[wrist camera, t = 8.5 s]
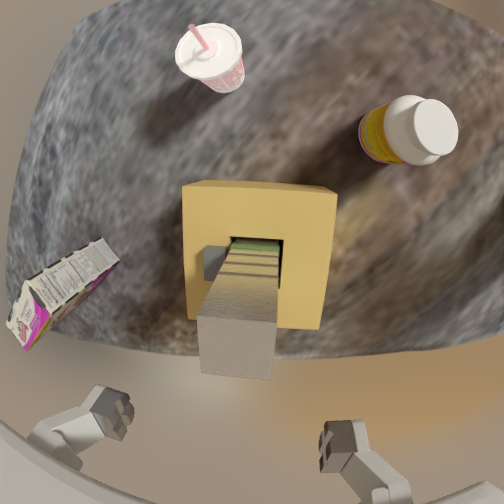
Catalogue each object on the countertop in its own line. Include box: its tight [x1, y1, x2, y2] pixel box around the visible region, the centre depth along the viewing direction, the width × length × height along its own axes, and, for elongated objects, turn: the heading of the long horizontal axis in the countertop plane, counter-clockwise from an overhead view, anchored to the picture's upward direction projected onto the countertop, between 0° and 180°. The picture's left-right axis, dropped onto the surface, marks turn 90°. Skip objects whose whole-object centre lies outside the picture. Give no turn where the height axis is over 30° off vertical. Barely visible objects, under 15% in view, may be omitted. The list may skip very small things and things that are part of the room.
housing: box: [182, 180, 338, 330], centre depth 29 cm, size 14×14×10 cm
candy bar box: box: [6, 237, 120, 351], centre depth 30 cm, size 11×5×16 cm, turn 129°
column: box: [197, 237, 279, 380], centre depth 22 cm, size 4×4×16 cm
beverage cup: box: [175, 23, 245, 93], centre depth 21 cm, size 6×6×14 cm
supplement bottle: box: [358, 95, 458, 165], centre depth 22 cm, size 7×7×13 cm
